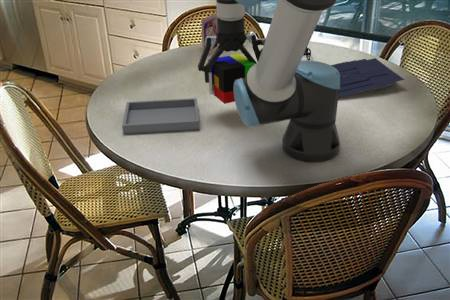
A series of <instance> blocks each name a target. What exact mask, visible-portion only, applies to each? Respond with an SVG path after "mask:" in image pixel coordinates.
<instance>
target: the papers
mask: <svg viewBox="0 0 450 300" xmlns="http://www.w3.org/2000/svg"><path fill="white" fill-rule="evenodd" d="M330 65H331V66H333V67H335V68H336V69H337V70H338V71H339V73H340V89H339V95H338V98H341V97H344V96H349V95H353V94H357V93H362V92H366V91H370V90H375V89H382V88H384V87H389V86H391V85H395V84H397V82H400V81H405V78H403V77H401V76H400V75H399V74H397V73H396V72H395V71H393V70H392V69H390V68H389V67H388V66H387V65H385V64H383V62H381V61H380V60H378V58H376V57H375V58H374V57H373V58H371V59H366V58H363V59H358V60H356V59H354V60H351V61H344V62H340V63H335V64H330Z"/></svg>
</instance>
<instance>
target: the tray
mask: <svg viewBox="0 0 450 300" xmlns="http://www.w3.org/2000/svg"><path fill="white" fill-rule="evenodd" d="M198 106H199V105H198V98H197V97H192V98H177V99H175V98H174V99H160V100H159V99H157V100H155V99H154V100H140V101H139V100H138V101H137V100H136V101H126V105H125V108H124V109H125V110H124V115H123V119H122V125H121V127H122V135H123V136H127V135H143V134H144V135H147V134H162V133H177V132H178V133H180V132H196V131H197V132H198V131H200V120H199V118H200V117H199V107H198Z"/></svg>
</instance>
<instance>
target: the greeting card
mask: <svg viewBox="0 0 450 300" xmlns="http://www.w3.org/2000/svg"><path fill="white" fill-rule="evenodd" d="M217 19H218V16H217V12H215V13H213V14H211V15H209V16H207V17H204V18H201V19H200V20H201V21H200V22H201V40H202V43H201V44H202V45H201V46H202V52H203V51H204V48H205V45H206V37H207V36H208V35H209V36H210V37H216V36H217ZM218 46H219V44H218V43H217V41H215V42H214V44H213V45H211V48H210V51H209V53H208V56H209V55H210V54H212V53H215V51H216V50H217V48H218Z"/></svg>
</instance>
